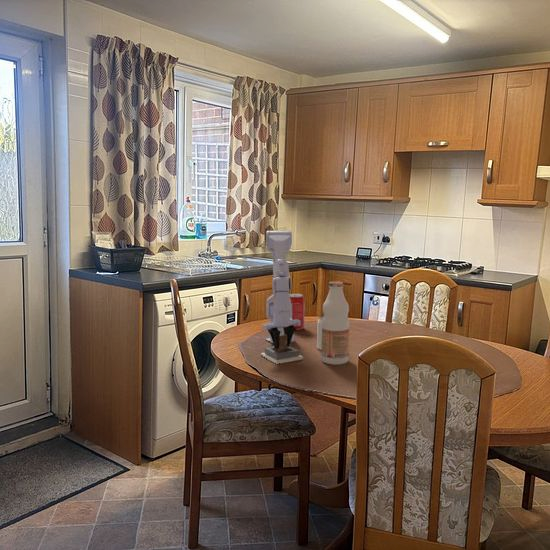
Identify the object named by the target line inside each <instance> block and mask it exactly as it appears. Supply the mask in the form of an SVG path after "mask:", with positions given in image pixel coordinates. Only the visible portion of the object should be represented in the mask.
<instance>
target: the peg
mask: <svg viewBox="0 0 550 550" xmlns="http://www.w3.org/2000/svg"><path fill="white" fill-rule="evenodd" d="M286 351H287V335H286V334H280V336H279V349H276V352H278V353H281V352H286Z"/></svg>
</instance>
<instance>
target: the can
mask: <svg viewBox="0 0 550 550" xmlns="http://www.w3.org/2000/svg"><path fill="white" fill-rule="evenodd" d="M323 317H324V315H321V316H319V317H318V320H317V328H316V331H317V332H316V334H317V335H316V348H317V350H320V351H322V320H323Z"/></svg>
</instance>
